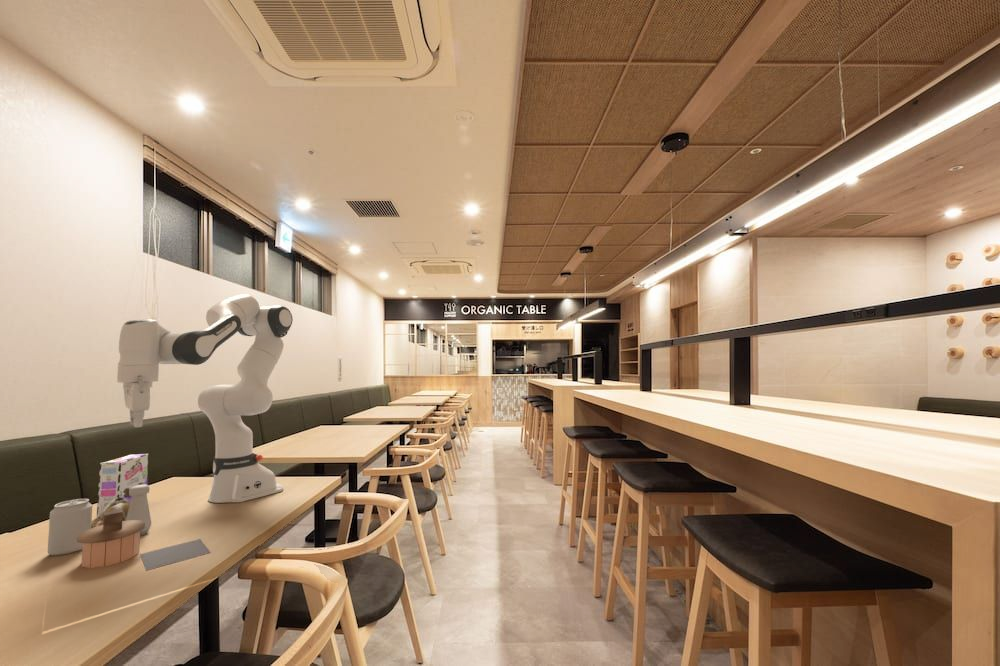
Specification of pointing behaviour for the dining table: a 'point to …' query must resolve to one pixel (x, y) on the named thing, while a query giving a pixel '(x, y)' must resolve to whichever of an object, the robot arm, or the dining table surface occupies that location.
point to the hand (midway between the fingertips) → (136, 425)
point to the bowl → (110, 551)
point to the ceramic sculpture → (115, 505)
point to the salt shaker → (139, 506)
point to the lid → (111, 528)
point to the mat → (173, 554)
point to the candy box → (120, 478)
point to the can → (68, 526)
